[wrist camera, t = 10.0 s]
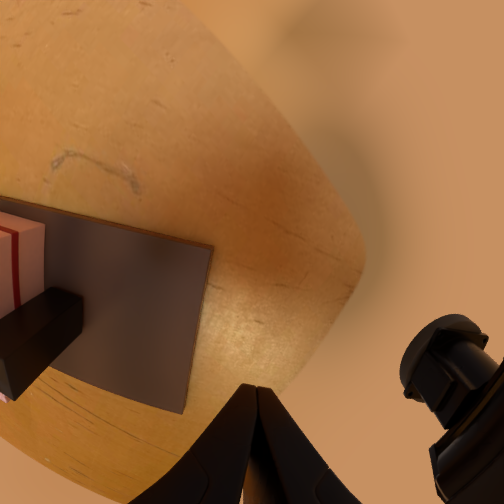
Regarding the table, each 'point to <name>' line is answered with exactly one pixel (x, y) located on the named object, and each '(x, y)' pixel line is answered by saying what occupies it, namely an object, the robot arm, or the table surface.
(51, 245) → the board
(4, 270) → the cake
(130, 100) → the table surface
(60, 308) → the knife
